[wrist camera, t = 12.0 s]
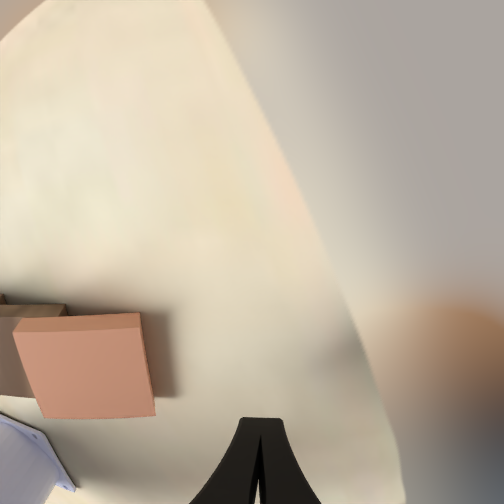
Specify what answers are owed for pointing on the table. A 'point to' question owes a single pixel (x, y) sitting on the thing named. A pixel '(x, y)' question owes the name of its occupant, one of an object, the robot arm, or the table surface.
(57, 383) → the terracotta domino
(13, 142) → the table surface
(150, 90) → the table surface
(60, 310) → the walnut domino
